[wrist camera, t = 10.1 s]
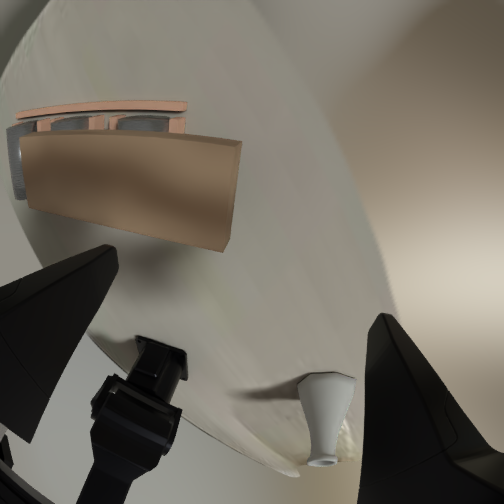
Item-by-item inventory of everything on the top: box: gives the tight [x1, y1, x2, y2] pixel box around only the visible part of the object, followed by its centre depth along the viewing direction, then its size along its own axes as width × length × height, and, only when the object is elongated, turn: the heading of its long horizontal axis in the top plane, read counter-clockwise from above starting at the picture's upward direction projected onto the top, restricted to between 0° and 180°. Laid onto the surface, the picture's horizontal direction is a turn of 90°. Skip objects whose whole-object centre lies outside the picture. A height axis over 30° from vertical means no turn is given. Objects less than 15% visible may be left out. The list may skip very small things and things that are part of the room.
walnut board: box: [19, 129, 242, 253], centre depth 15 cm, size 6×17×2 cm, turn 82°
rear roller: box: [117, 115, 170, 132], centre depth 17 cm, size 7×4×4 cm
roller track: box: [12, 100, 187, 134], centre depth 19 cm, size 9×20×1 cm, turn 82°
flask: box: [297, 373, 356, 467], centre depth 25 cm, size 7×7×10 cm
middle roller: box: [50, 116, 92, 131], centre depth 18 cm, size 7×4×4 cm, turn 172°
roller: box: [6, 120, 39, 200], centre depth 18 cm, size 4×7×4 cm, turn 172°
